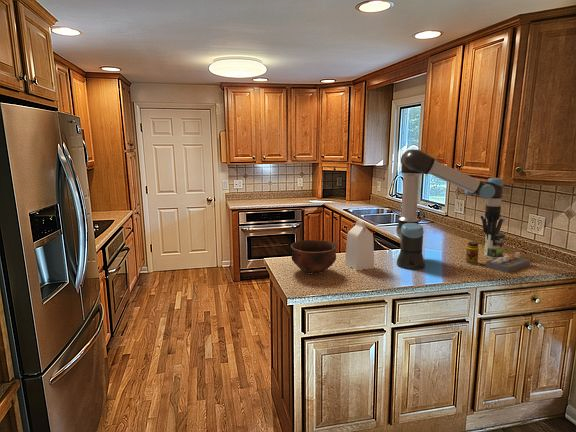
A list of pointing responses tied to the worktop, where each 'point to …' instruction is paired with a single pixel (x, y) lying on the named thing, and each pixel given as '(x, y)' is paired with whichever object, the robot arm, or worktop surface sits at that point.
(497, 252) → the coffee can
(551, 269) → the worktop surface
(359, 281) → the worktop surface
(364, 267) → the milk
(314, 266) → the bowl
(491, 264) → the switch panel
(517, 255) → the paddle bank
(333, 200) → the worktop surface
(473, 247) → the condiment
